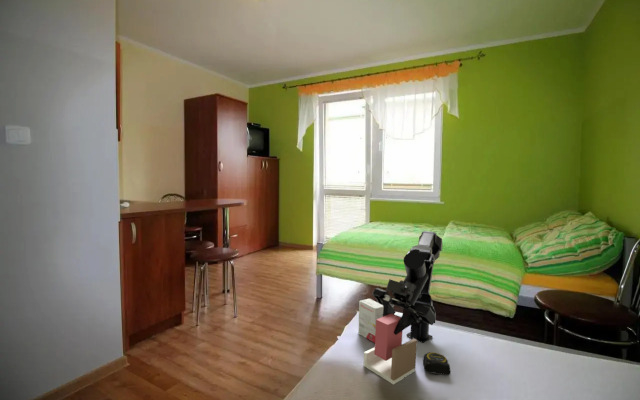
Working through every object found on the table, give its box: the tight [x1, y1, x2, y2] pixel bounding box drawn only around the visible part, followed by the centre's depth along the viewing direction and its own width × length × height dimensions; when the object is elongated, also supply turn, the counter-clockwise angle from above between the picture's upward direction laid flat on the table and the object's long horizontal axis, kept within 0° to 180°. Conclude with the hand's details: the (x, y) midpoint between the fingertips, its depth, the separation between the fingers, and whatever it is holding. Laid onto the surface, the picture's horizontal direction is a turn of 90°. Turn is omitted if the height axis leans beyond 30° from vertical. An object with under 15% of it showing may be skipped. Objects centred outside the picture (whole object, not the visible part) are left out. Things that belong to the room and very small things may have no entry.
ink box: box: [358, 298, 383, 344], centre depth 106 cm, size 9×5×12 cm, turn 33°
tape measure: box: [422, 351, 452, 376], centre depth 89 cm, size 7×7×4 cm
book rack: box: [363, 338, 418, 385], centre depth 88 cm, size 10×10×9 cm
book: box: [374, 313, 403, 361], centre depth 87 cm, size 7×4×10 cm, turn 130°
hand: (388, 330), depth 87 cm, fingers closed on book, 4 cm apart
